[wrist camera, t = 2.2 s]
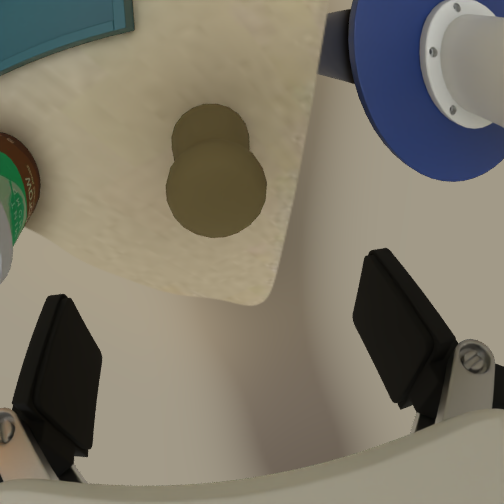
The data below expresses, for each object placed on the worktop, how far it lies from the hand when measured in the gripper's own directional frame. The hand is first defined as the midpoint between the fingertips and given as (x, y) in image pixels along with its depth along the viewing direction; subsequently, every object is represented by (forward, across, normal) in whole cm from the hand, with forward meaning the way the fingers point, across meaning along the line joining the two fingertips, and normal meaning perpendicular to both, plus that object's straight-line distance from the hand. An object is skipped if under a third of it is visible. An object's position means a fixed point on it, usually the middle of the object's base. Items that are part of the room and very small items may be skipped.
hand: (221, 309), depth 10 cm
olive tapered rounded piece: (+18, -1, 0) cm, 18 cm away
